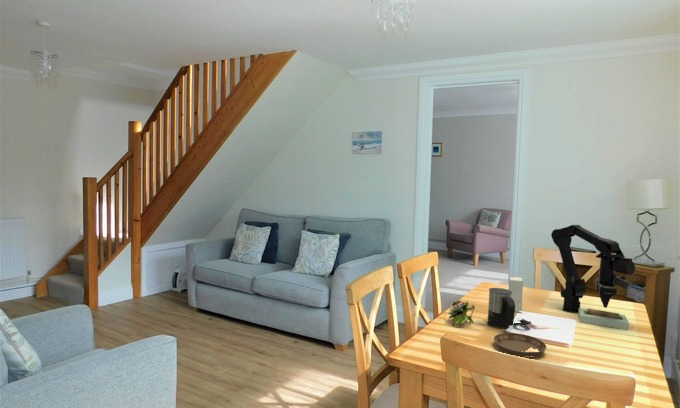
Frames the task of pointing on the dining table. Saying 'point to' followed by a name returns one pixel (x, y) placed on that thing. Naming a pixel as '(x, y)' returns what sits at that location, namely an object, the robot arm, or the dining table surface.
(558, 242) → the robot arm
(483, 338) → the dining table surface
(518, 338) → the plant saucer
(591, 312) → the walnut peg
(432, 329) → the dining table surface
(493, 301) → the milk frother
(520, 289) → the skincare box
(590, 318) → the sage cradle
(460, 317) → the green leafy plant
